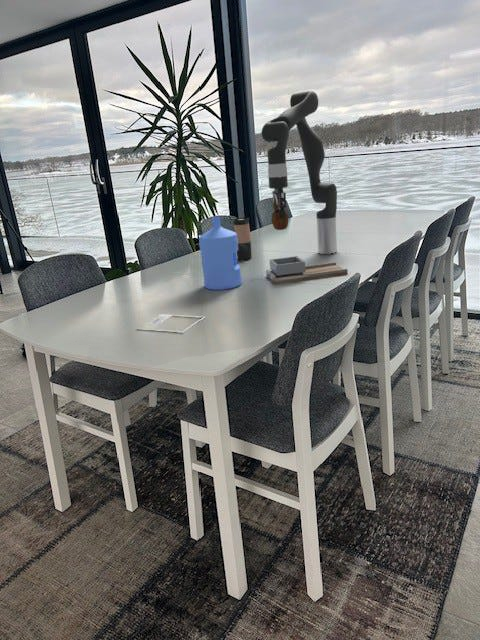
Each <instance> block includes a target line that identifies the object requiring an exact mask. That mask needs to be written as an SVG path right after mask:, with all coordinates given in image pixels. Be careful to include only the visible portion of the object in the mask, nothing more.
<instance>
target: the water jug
mask: <svg viewBox="0 0 480 640" xmlns="http://www.w3.org/2000/svg"><path fill="white" fill-rule="evenodd" d="M211 219H212V228H211V229H209V230H207V231H206V232H204V233H203V234H201V235H200V236H199V237H198V240H199V241H198V243H199V245H198V246H199V249H200V256H201V257H200V259H201V268H202V273H203V285H204V287H205V288H206V289H208V290H212V291H221V290H222V291H223V290H231V289H234V288H237V287H239V286H241V284H243V281H242V279H243V278H242V273H241V265H239V264H238V258H237V251H238V238H237V233H235V231H232V230H230V229H227V228H225V227H222V225H221V224H222V223H221V216H212V217H211Z"/></svg>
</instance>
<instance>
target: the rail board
mask: <svg viewBox="0 0 480 640" xmlns="http://www.w3.org/2000/svg"><path fill="white" fill-rule="evenodd" d="M305 270H306V272H303V275H299V273H293V274H286V275H282V277H281V278H278V276H277V275H276V274H274V273H273V271H271V270H270V269H266V277H267V278H268V279H269V281H270V282H271V283H272V284H273V285H277V284H278V285H279V284H287V283H293V282H299V281H300V282H302V281H308V280H315V279H324V278H329V277H331V278H332V277H337V276H343V275H345V276H346V275H348V273H349V271H348V268H343V267H341V266H340V265H338V264H337V261H335V262H326V263H320V264H312V265H305Z"/></svg>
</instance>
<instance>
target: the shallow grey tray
mask: <svg viewBox="0 0 480 640" xmlns="http://www.w3.org/2000/svg"><path fill="white" fill-rule="evenodd" d="M305 266H306V261H305V260H303V259H302V258H301V257H299V256H297V255H295V256H294V255H293V256H287V257H279V258H273V259H271V258H270V259H269V270H270V271H273V273H274V274H276V275H277V276H278V278H281V277H282V275H286V274H293V273H299V275H303V272H306V270H305Z"/></svg>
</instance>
